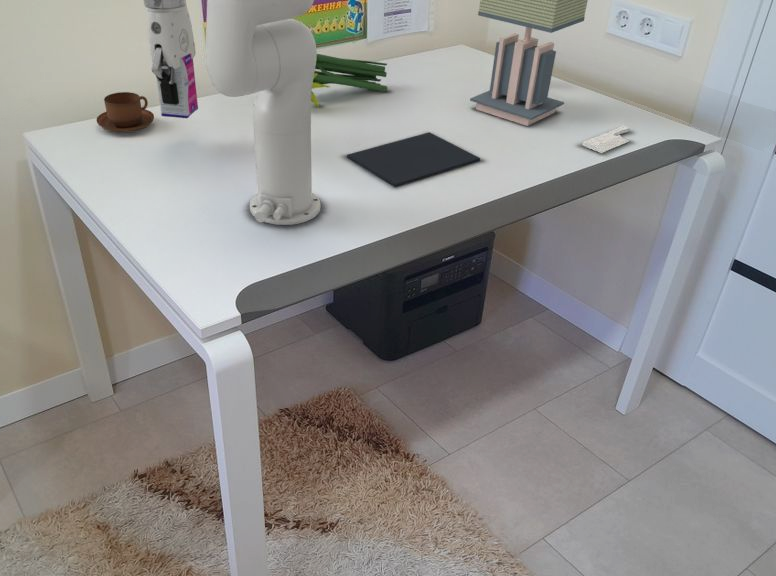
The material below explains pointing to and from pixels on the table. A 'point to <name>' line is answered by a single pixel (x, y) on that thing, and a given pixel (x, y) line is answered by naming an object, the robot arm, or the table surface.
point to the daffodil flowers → (355, 69)
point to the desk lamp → (525, 58)
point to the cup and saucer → (125, 113)
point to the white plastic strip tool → (607, 140)
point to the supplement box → (181, 90)
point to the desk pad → (412, 158)
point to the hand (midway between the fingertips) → (178, 97)
